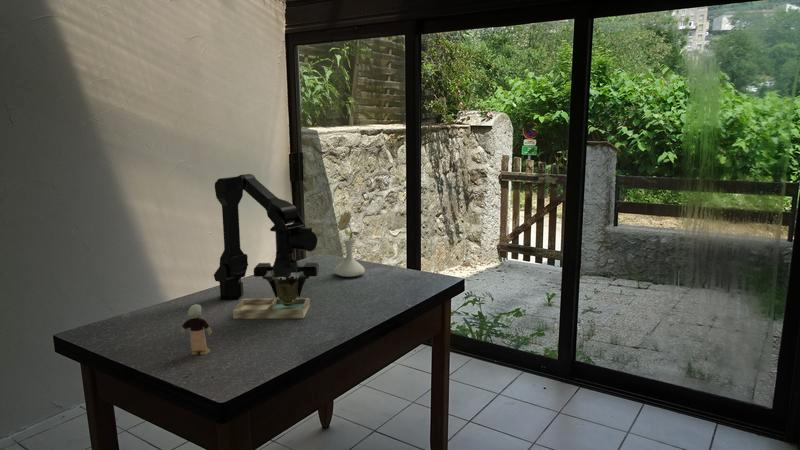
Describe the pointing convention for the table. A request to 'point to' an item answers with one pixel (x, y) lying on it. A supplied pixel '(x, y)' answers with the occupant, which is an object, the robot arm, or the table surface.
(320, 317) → the table surface
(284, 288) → the cup
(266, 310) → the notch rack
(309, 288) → the table surface
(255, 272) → the robot arm
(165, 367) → the table surface
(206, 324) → the grandmother figurine
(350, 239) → the flower in vase
